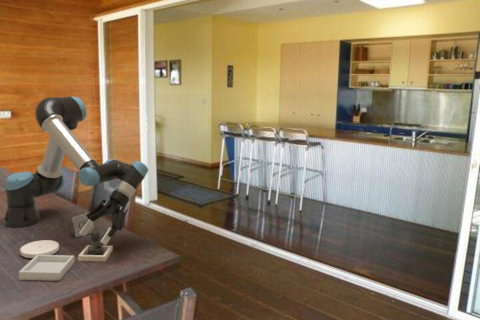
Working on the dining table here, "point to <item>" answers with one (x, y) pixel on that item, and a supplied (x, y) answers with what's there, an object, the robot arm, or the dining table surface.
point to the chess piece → (95, 243)
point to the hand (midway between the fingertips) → (92, 239)
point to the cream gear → (39, 248)
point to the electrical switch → (80, 224)
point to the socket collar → (85, 257)
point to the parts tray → (47, 267)
